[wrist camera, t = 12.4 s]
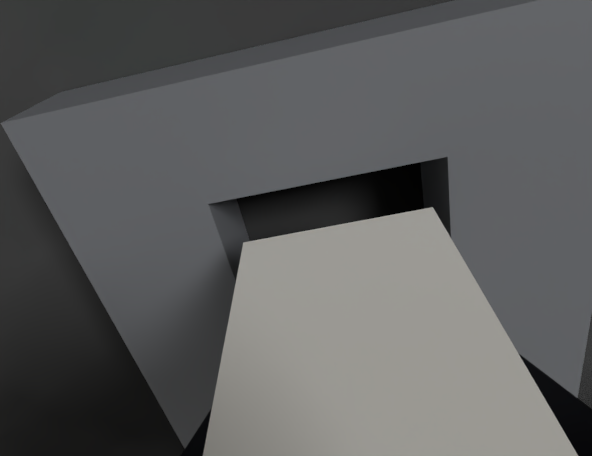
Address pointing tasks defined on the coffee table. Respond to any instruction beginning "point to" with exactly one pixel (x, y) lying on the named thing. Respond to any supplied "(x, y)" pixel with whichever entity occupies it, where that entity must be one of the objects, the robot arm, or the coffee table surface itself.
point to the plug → (371, 352)
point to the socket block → (331, 171)
